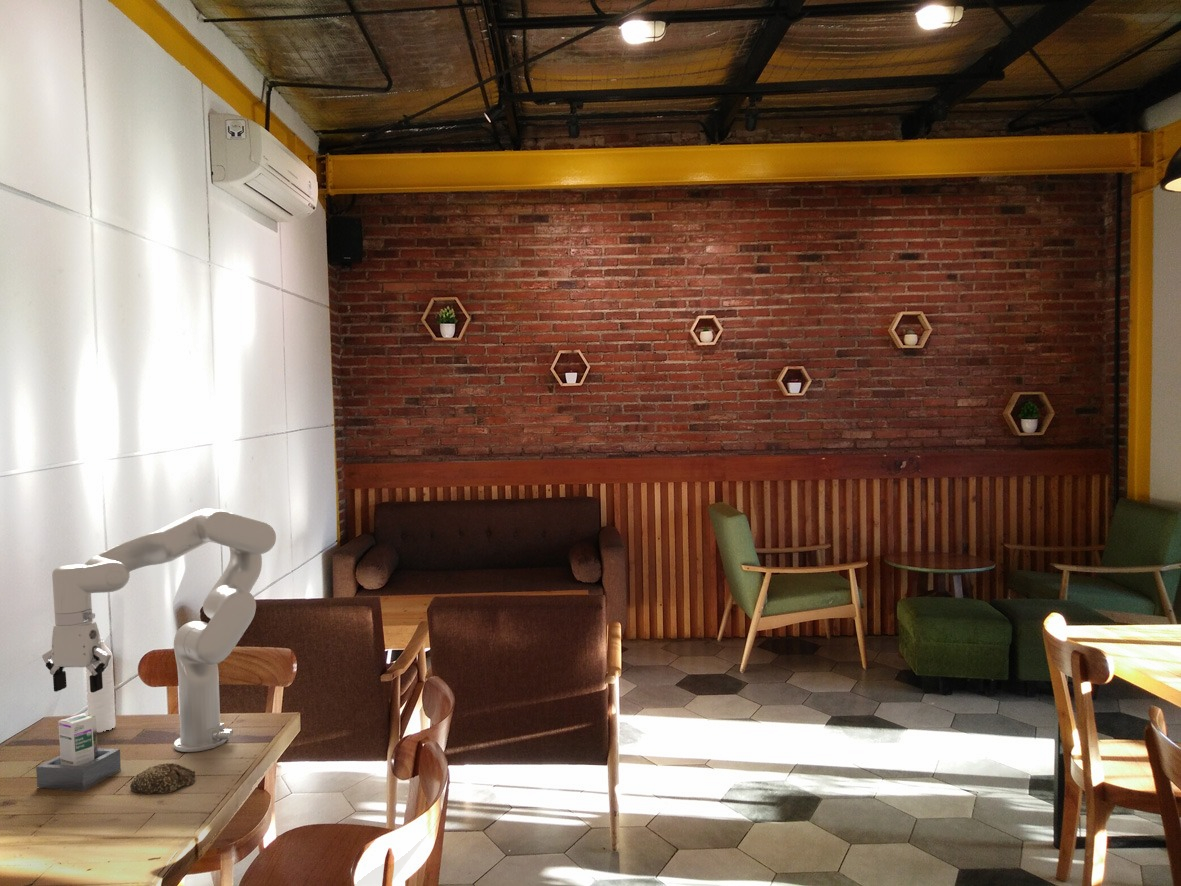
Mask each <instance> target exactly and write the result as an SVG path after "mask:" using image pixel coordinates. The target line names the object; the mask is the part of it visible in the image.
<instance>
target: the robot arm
mask: <svg viewBox="0 0 1181 886" xmlns="http://www.w3.org/2000/svg"><path fill="white" fill-rule="evenodd" d="M276 541H277V534H276V531H275V530H274V528H273V527H272V525H270V524H268V523H267V522H265V521H264V522H263V521H259V520H256V519H252V518H250V517H247V516H246V517H245V516H242V515H239V514H235V513H233V512H229V511H225V510H223V509H214V508H203V509H199V510H197V511H194V512H192V513H190V514H188V515H186V516H184V517H182V518H180V519H177V520H176V521H174V522H172V523H170V524H168V525H166V526H163V527H162V528H160V529H157V530H156V531H153V532H150V533H147V534H144V535H142V536H139V537H137V538H133V539H131V540H128V541H126V542H123V543H121V544H118V545H116V546H114V547H111V548H109V549H107V550H105V551H103V552H101V553H99V554H97V555H94V556H93V557H91V558H90V559H88V560H87V561H86V562H85V563H84V564H82V563H75V564H73V563H72V564H65V565H60V566H57V567H55V568H54V569H53V571H52V574H51V575H52V576H51V578H52V592H53V593H52V595H53V609H54V610H53V611H54V622H55V623H54V625H53V629H52V634H51V635H52V637H51V650H49V651H46V653H44V654H42V655H41V656H42V660H43V661H44V663H45V667H46V668H47V669H48V670H49V674H50V675H52V679H53V680H52V681H53V682H52V683H53V691H54V692H55V693H57V692H59V691H61V690H63V689H65V688H67V686H68V685H67V673H66V671H65V668H85V669H86V668H87V669H88V670H89V671H90V673H91V674H92V675H91V676H90V691H91V692H96V691H98V690H100V689H102V688H103V682H102V672H104V670H105V668H106V667H107V666H108V663H109V660H110V658H111V655H110V654H108V653H106V652H105V651H103V650H102V646H101V640H100V638H101V635H100V631H99V628H98V627H99V626H98V624H97V621H94V619H95V618H96V613H94V612H93V608H92V607H93V606H92V594H97V593H98V594H100V593H103V594H104V593H114V592H118V591H119V590H121V589H123V588H124V587H126V586H127V584H128V583H129V580H130V575H131V574H130V572H133V571H135V570H137V569H141V568H144V567H151V566H156V565H162V564H166V563H170V562H173V561H175V560H176V559H178V558H180V557H182V556H185V555H186V554H189V553H190V552H193V550H196V549H198V548H199V547H202V546H203V545H205V544H208V543H212V544H213V543H214V544H218V545H220V546H225V547H227V548H229V551H230V556H229V561H228V564H227V566H226V568H225V569H224V571H223V573H222V574H221V575H220V577H219V579H218V580H216V583H215V584H214V585H213V587H212V588H211V590H210V591H209V593H208V594H207V596H206V597H205V598H204V601H203V603H202V611H203V612H204V615H206V617H207V618H209V619H210V620H209V621H208V622H205V621H200V620H193V621H189V622H186V623H185V624H183V625H182V626H181V627H179V629H177V631H176V633H175V635H174V638H173V651H174V655H175V656H174V657H175V662H176V667H177V678H178V679H177V680H178V684H177V685H178V709H179V710H178V712H179V736H180V737H178V738H177V739H176V740H174V742H173V749H175V750H176V751H178V752H183V753H194V752H195V753H197V752H201V751H203V752H204V751H207V750H211V749H214V748H216V747H219V746H222V745H223V744H225V743H226V742H227V740H228V741H229V740H231V739H232V738H233V733H234V729H233V728H225V723H224V722H221V713H220V712H221V711H220V710H221V709H220V707H221V706H220V704H221V703H220V682H219V681H220V680H219V679H220V677H219V675H220V674H219V667H218V664H219V663H221V662H223V661H224V660H225V659H226V658H228V656H230V654H231V653H232V652H233V650H234V649H235V647H236V646H237V645H238V642H239V641H240V640H241V639H242V637H243V636H244V633H245V632H246V630H247V629H248V627H249V626H250V625H251V623H252V621H253V619H254V617H255V614H256V609H257V601H256V599H255V597H254V595H253V594H252V592H251V591H252V589H253V587H254V586H255V584H256V582H258V581H257V580H258V579H259V577H260V574H261V572H262V568H263V559H262V558H263V557H262V555H263V554H266V553H268V552H270V551H271V550H272V549H273V548H274V546H275V545H276ZM250 592H251V593H250ZM100 661H101V663H100ZM93 665H94V666H95V667H96V669H95V668H94V666H93Z"/></svg>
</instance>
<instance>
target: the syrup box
mask: <svg viewBox="0 0 1181 886" xmlns="http://www.w3.org/2000/svg"><path fill="white" fill-rule="evenodd" d="M58 736H59V755H60V758H61V765H67V766H83V765H85V764H87V763H89V762H91V761H92V760H94V759H96V758H98V732H97V727H96V717H95V716H93V715H90V714H88V713H83V712H82V713H80V714H76V715H73V716H69V717H68V718H64V719H59V720H58Z"/></svg>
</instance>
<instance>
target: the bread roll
mask: <svg viewBox="0 0 1181 886" xmlns="http://www.w3.org/2000/svg"><path fill="white" fill-rule="evenodd" d="M195 773H196V771H195V770H192V769H190V768H187V767H185V766H183V765H180V764H178V763H169V762H168V763H163V764H162V763H159V764H157V765H154V766H150V767H147V768H146V769H144V770H143V771H142V772H139V774H138V773H137V774H136V777H134V779H133V780H132V781H131V783H130V786H129V787H130V790H131V791H132V792H135V793H137V794H145V795H156V794H157V795H165V794H170V793H171V794H172V792H175V791H176V790H179V789H180V788H182V787H185V786H186V787H189V786H192V785H193V784H194V783H195V782H196V781H195V777H196V776H195Z"/></svg>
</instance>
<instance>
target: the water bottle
mask: <svg viewBox="0 0 1181 886" xmlns="http://www.w3.org/2000/svg"><path fill="white" fill-rule="evenodd" d="M100 640H101V646H102V650H103V651H105V652H106V653H108V654H110V655H111V658H110V660H109V663H108V666H107V667H106V668H105V670H104V672H102V682H103V688H102V689H100V690H98V691H96V692H91V691H90V676H91V675H92V674H91V673H90V671H89V670H88V669H87V668H86V667H85V671H86V674H85V675H86V693H87V694H86V699H87V704H86V705H87V714H90V715H93V716H95V717H96V727H97V733H104V732H107V731H106V730H109V731H111V730H112V728H113V729H115V728H116V711H115V709H116V708H115V707H116V705H115V690H114V689H115V683H114V679H115V678H114V662H113V661H114V656H113V652H112V651H111V650H110V648H109V647H108V646H107V645H106V644H105V640H104V637H100ZM100 663H101V661H100ZM93 666H94V665H93ZM94 668H95V669H96V667H95V666H94ZM103 731H104V732H103Z"/></svg>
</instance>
